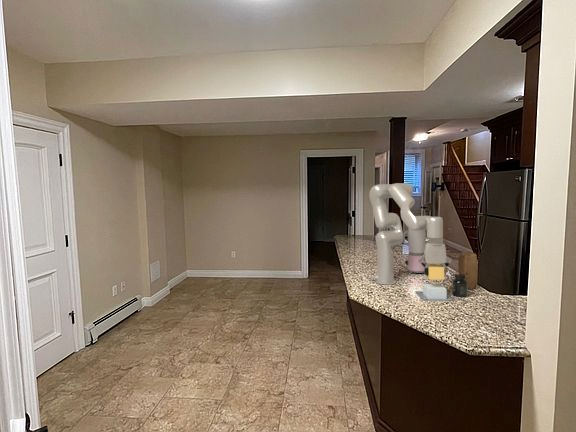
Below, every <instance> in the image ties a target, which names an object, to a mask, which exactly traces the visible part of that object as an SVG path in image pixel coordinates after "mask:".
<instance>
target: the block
mask: <svg viewBox="0 0 576 432" xmlns="http://www.w3.org/2000/svg"><path fill="white" fill-rule="evenodd" d="M477 256H478V255H477V254H476V253H475V252H473V251H462V252H460V253H459V257H458V263H457V265H458V274H465V280H466V281H467V290H474V289H476V288H477V285H478V257H477Z"/></svg>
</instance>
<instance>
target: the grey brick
mask: <svg viewBox="0 0 576 432" xmlns="http://www.w3.org/2000/svg"><path fill="white" fill-rule="evenodd" d="M447 290H448V289H447V288H445V286H444V285H442V284H441V283H439V284H438V283H437V284H436V283H434V284H433V283H423V284H422V291H423V294H424V295H425V296H426V297H427V298H428V299H447V294H448V292H447Z"/></svg>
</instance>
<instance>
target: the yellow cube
mask: <svg viewBox="0 0 576 432" xmlns="http://www.w3.org/2000/svg"><path fill="white" fill-rule="evenodd" d="M428 272H429V275H428V276H427V275H426V274H425V277H426V278H427V279H429V281H430V280H435V281H436V280H438V281H439V280H440V281H441V280H443V281H445V274H444V267H442V265H441V264H429V266H428Z"/></svg>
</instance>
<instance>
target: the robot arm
mask: <svg viewBox="0 0 576 432" xmlns="http://www.w3.org/2000/svg"><path fill="white" fill-rule="evenodd" d="M413 194H414V188H413V186H412V185H411V184H410V183H408V182H406V183H405V182H404V183H403V182H402V183H399V182H397V183H396V182H395V183H392V184H390V183H389V184H388V183H385V184H384V183H383V184H382V183H381V184H380V183H379V184H375V185H373V186H372V187H371V188H370V190H369V194H368V196H369V201H370V204H371V206H372V207H371V208H372V211H373V217H374V223H375V226H376V228H377V229H381V231H378V233H376V235H375V244H376V250H377V251H376V256H377V257H376V258H377V264H376V266H377V272H376V274H374V275H373V274H371V275H369V279H372V280H374V282H375V283H376V284H380V285H387V286H389V285H395V284H396V283H397V280H396V279H395V278H394V277H395V275H394V271H395V270H394V267H395V265H394V264H395V263H394V261H395V260H394V256H395V255H394V251H393V249H392V247H393V246H399V245H401V244H403V243H402V242H403V231H404V230H403V226H402V222H403V223H404V224H405V226H406V227H407V229H408V228H409V229H411V230H414V231H417V230H425V231H426V239H424V241H426V243H425V249H424V256H422V257H421V258H420V259H419V260H418V261H419V262H420V263H421V264H422V265H423V266H424V267H425V274H424V275H425V276H426V275H427V276H428V275H429V272H428V266H429V265H441V266H442V267H444V275H446V269H447V267H448V266H449V265H450V264H451V263H452V262H453V260H452V259H451V258H450V257H449V256H447V249H446V244H445V243H444V218H443V217H442V216H431V215H414V213H413V212H412V211H411V209H412V207H413V206H414V205H415V202H416V201H415V199H414V197H413V196H412V195H413ZM384 199H393V200H394V202H395V203H396V205H398V207H399V208H400V216H399V215H398V213H394V212H388V211H389V210H388V206H387V204H386V202H385V201H384ZM401 221H402V222H401ZM383 229H384V230H383ZM386 229H387V230H386ZM388 229H389V230H388ZM422 260H424V261H425V264H424V263H423V262H422Z"/></svg>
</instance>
